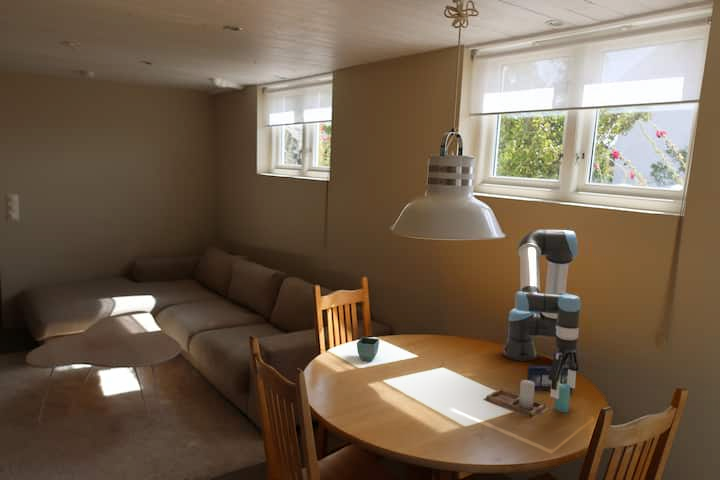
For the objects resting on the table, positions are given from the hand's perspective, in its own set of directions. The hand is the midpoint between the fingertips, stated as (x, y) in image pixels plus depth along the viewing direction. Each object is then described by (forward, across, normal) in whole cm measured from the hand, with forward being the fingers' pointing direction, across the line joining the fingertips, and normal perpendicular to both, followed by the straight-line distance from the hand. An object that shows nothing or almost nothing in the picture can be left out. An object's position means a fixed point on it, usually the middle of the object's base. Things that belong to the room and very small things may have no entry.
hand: (562, 392), depth 192 cm
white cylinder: (+7, +9, -10) cm, 15 cm away
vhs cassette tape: (+8, -15, -12) cm, 21 cm away
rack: (+8, +9, -14) cm, 18 cm away
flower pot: (+8, +17, -86) cm, 88 cm away
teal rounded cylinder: (+8, 0, 0) cm, 8 cm away
